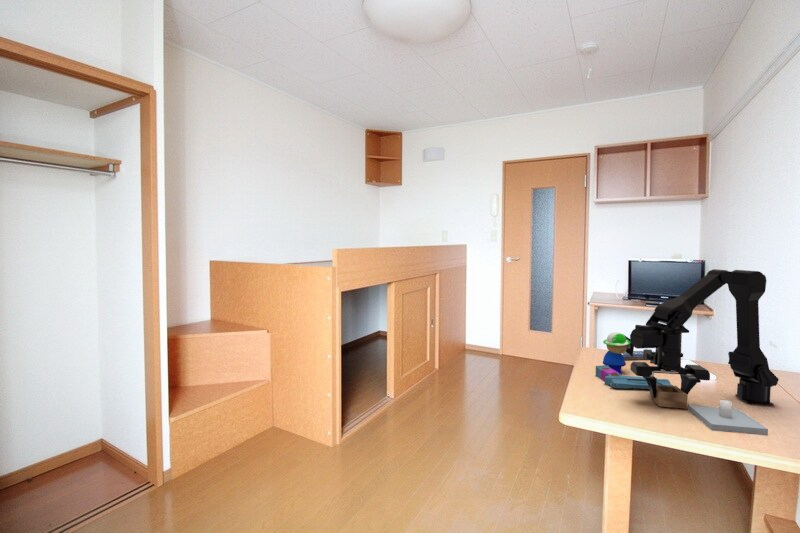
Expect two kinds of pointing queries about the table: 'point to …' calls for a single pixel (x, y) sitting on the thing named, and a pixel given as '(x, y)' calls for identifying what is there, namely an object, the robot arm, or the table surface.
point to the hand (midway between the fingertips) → (667, 398)
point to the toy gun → (624, 379)
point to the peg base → (727, 418)
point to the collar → (670, 396)
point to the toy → (617, 350)
